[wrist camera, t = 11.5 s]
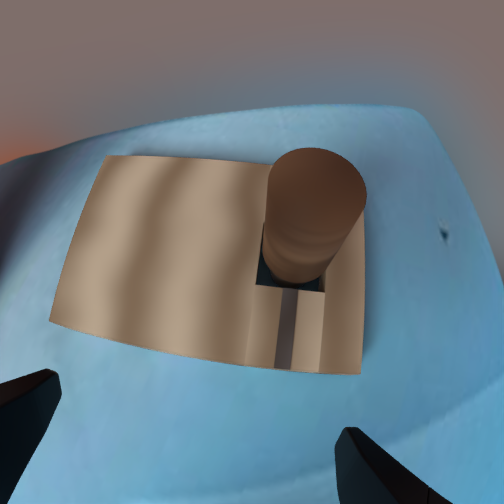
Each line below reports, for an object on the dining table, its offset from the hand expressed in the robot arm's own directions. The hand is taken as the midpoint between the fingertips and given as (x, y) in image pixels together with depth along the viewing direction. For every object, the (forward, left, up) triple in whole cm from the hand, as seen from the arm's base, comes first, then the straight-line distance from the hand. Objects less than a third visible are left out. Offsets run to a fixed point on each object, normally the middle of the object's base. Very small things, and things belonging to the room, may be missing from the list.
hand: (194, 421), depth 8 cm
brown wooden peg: (+5, -9, -13) cm, 16 cm away
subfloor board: (+9, -5, -13) cm, 16 cm away
